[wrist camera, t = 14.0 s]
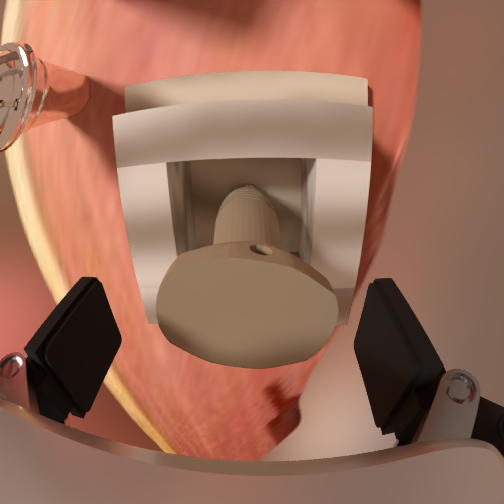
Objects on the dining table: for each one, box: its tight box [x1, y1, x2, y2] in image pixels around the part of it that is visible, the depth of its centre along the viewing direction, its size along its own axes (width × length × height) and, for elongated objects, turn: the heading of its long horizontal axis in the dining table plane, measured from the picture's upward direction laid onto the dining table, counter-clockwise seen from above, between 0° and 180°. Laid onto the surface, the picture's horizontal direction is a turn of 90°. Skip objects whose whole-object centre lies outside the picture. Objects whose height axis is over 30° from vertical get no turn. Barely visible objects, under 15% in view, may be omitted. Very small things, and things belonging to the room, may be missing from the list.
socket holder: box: [112, 71, 373, 325], centre depth 21 cm, size 22×20×7 cm
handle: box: [156, 184, 338, 369], centre depth 16 cm, size 5×6×15 cm
